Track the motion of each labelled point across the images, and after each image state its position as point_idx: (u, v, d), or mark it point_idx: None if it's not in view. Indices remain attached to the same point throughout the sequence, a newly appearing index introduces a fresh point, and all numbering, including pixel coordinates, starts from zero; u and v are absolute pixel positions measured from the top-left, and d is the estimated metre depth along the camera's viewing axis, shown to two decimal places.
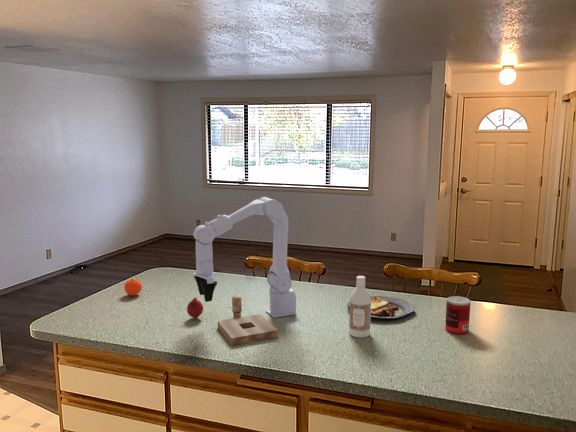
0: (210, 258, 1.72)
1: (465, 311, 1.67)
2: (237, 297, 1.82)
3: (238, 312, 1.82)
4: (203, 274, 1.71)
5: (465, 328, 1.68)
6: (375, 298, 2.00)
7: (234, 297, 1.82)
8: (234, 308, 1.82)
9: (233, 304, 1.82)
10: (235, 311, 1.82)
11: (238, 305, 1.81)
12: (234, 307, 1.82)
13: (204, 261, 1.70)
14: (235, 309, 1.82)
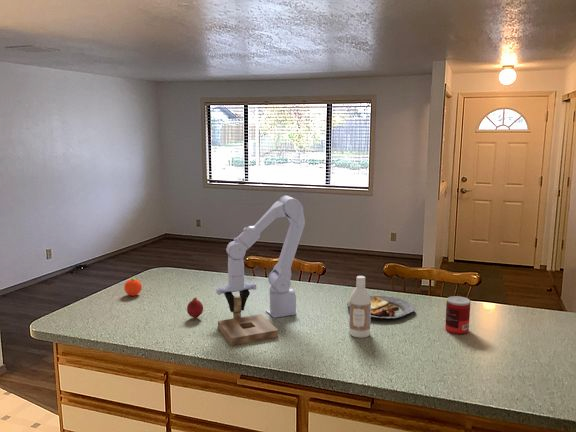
0: (241, 273, 1.79)
1: (465, 311, 1.67)
2: (237, 297, 1.82)
3: (238, 312, 1.82)
4: (228, 286, 1.82)
5: (465, 328, 1.68)
6: (375, 298, 2.00)
7: (234, 297, 1.82)
8: (234, 308, 1.82)
9: (233, 304, 1.82)
10: (235, 311, 1.82)
11: (238, 305, 1.81)
12: (234, 307, 1.82)
13: (235, 276, 1.78)
14: (235, 309, 1.82)
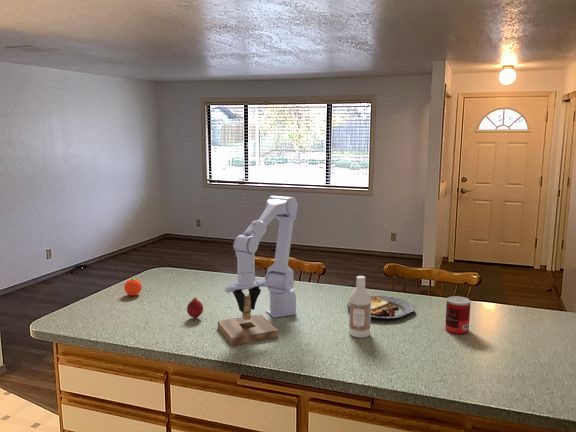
0: (254, 267, 1.67)
1: (465, 311, 1.67)
2: (246, 295, 1.69)
3: (248, 312, 1.69)
4: (237, 283, 1.68)
5: (465, 328, 1.68)
6: (375, 298, 2.00)
7: None
8: (244, 307, 1.68)
9: None
10: (244, 310, 1.68)
11: (248, 304, 1.68)
12: None
13: (251, 271, 1.65)
14: (244, 308, 1.68)
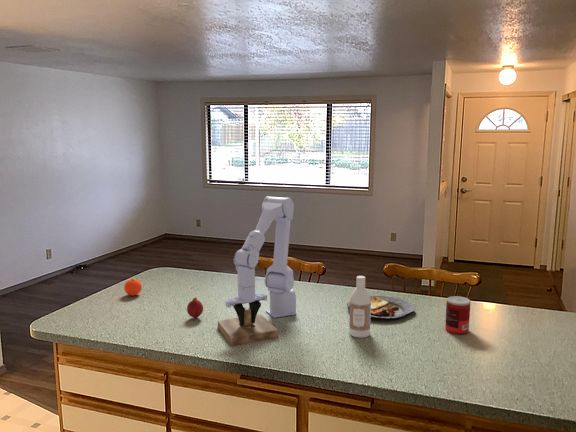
0: (254, 282, 1.68)
1: (465, 311, 1.67)
2: (247, 309, 1.70)
3: (248, 325, 1.69)
4: (237, 297, 1.68)
5: (465, 328, 1.68)
6: (375, 298, 2.00)
7: None
8: (244, 321, 1.69)
9: None
10: (245, 324, 1.69)
11: (248, 318, 1.69)
12: (244, 320, 1.69)
13: (252, 286, 1.66)
14: (245, 322, 1.69)
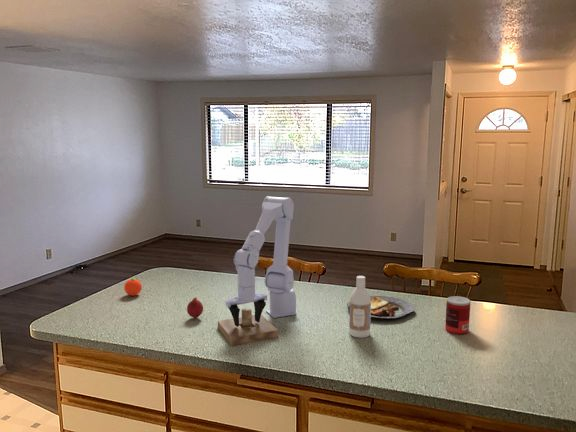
0: (254, 282, 1.68)
1: (465, 311, 1.67)
2: (247, 310, 1.69)
3: (248, 326, 1.69)
4: (237, 297, 1.68)
5: (465, 328, 1.68)
6: (375, 298, 2.00)
7: (244, 310, 1.69)
8: (244, 322, 1.69)
9: (243, 317, 1.69)
10: (245, 324, 1.69)
11: (248, 318, 1.69)
12: (244, 320, 1.69)
13: (252, 286, 1.66)
14: (245, 323, 1.69)
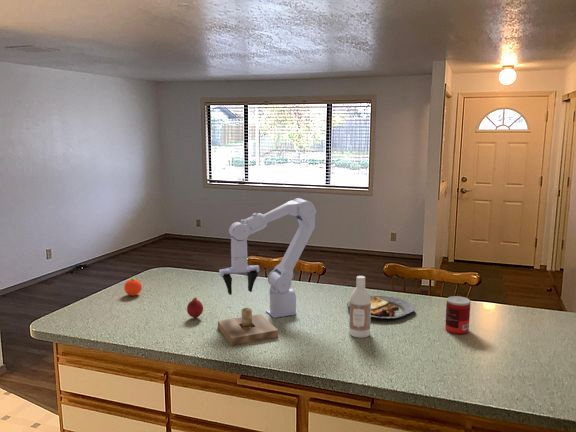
0: (245, 254, 1.77)
1: (465, 311, 1.67)
2: (247, 310, 1.69)
3: (248, 326, 1.69)
4: (231, 267, 1.80)
5: (465, 328, 1.68)
6: (375, 298, 2.00)
7: (244, 310, 1.69)
8: (244, 322, 1.69)
9: (243, 317, 1.69)
10: (245, 324, 1.69)
11: (248, 318, 1.69)
12: (244, 321, 1.69)
13: (239, 257, 1.76)
14: (245, 323, 1.69)
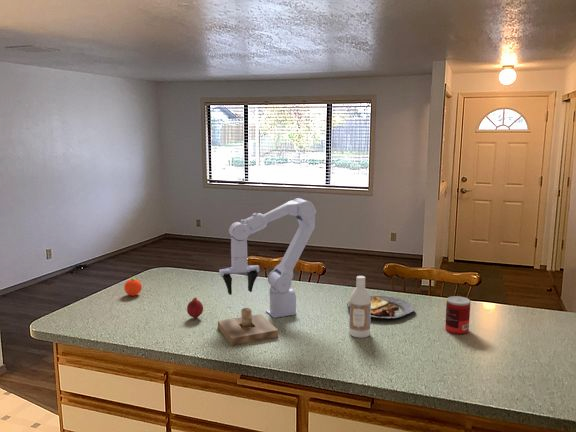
0: (245, 254, 1.77)
1: (465, 311, 1.67)
2: (247, 310, 1.69)
3: (248, 326, 1.69)
4: (231, 267, 1.80)
5: (465, 328, 1.68)
6: (375, 298, 2.00)
7: (244, 310, 1.69)
8: (244, 322, 1.69)
9: (243, 317, 1.69)
10: (245, 325, 1.69)
11: (248, 318, 1.69)
12: (244, 321, 1.69)
13: (239, 257, 1.76)
14: (245, 323, 1.69)
